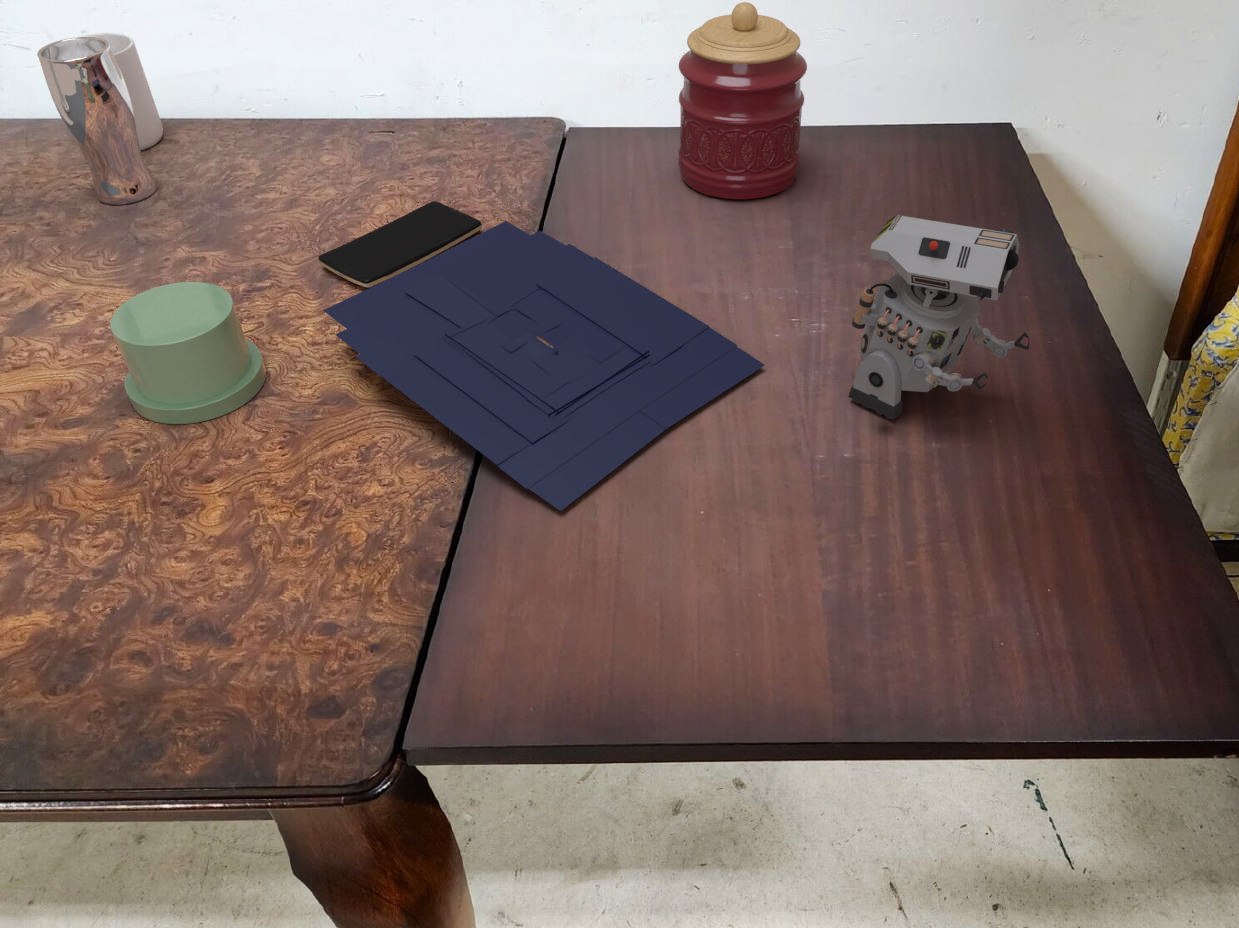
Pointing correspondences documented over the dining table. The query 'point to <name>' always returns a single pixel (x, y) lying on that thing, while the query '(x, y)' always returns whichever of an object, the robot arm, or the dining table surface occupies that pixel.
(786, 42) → the kitchen canister
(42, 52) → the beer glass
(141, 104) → the mug
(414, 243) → the smartphone
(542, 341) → the papers
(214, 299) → the flowerpot
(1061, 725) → the dining table surface
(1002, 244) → the figurine
